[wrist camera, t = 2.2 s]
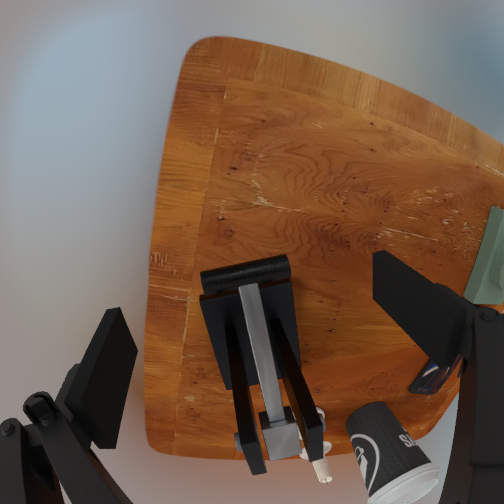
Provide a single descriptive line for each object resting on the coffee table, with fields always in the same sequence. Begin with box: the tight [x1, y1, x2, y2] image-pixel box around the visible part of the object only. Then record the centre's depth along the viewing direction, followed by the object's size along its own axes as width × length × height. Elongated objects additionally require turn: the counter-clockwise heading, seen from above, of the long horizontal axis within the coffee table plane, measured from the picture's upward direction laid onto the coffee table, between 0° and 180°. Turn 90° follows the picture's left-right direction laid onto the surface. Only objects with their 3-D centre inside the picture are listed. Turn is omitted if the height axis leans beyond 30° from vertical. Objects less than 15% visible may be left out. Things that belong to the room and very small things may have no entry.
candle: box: [293, 407, 333, 484], centre depth 30 cm, size 5×5×10 cm
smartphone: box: [409, 304, 479, 394], centre depth 35 cm, size 7×1×15 cm
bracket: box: [199, 278, 326, 475], centre depth 23 cm, size 11×8×14 cm
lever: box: [200, 254, 302, 461], centre depth 18 cm, size 13×5×2 cm, turn 10°
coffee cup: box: [346, 402, 439, 504], centre depth 30 cm, size 10×10×15 cm
